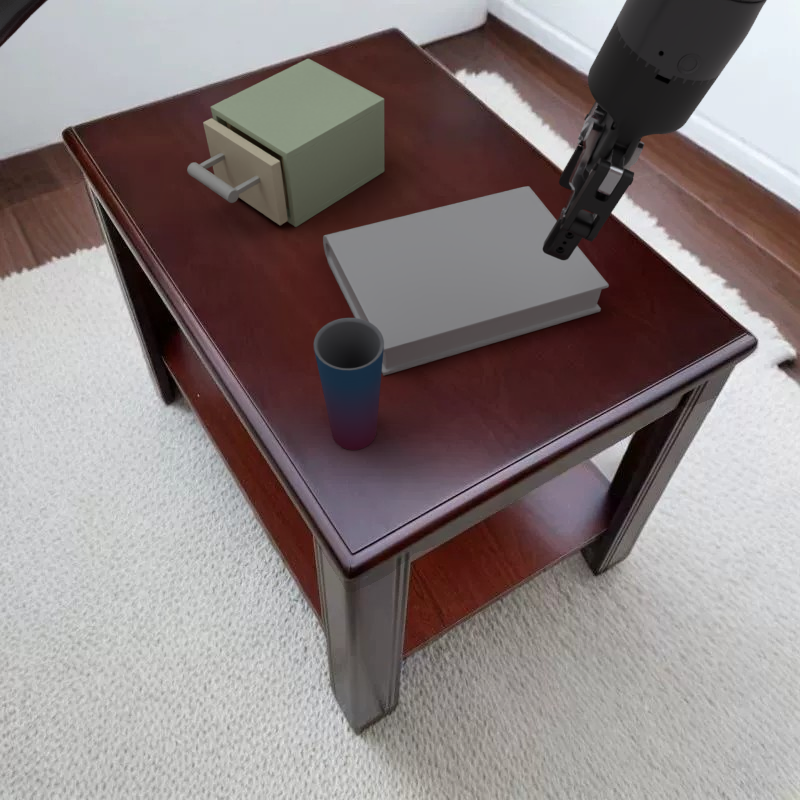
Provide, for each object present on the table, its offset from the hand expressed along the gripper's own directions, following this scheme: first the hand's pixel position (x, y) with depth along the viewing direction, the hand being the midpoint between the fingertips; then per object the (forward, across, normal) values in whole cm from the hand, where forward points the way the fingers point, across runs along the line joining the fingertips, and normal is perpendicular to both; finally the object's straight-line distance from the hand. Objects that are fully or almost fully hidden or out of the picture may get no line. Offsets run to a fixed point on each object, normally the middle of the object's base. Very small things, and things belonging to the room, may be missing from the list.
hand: (562, 219), depth 60 cm
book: (+18, -6, -5) cm, 20 cm away
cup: (+19, +15, -9) cm, 26 cm away
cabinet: (+24, -19, -26) cm, 40 cm away
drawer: (+23, -15, -28) cm, 40 cm away
